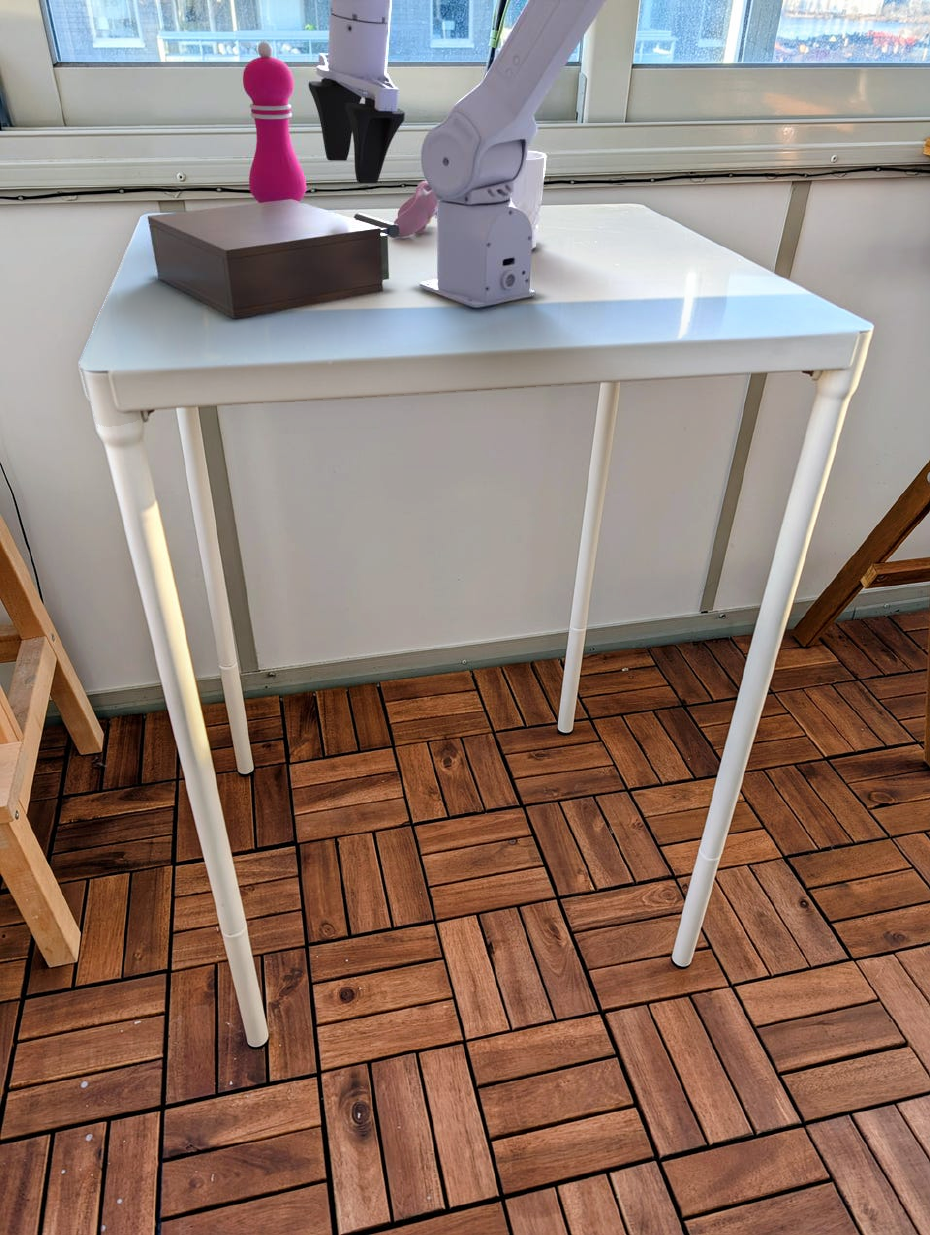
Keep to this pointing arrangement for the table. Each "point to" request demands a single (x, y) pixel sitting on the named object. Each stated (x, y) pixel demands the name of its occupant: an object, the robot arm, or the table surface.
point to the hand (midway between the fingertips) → (351, 170)
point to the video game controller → (417, 211)
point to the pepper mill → (272, 130)
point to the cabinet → (266, 256)
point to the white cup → (530, 190)
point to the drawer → (386, 231)
